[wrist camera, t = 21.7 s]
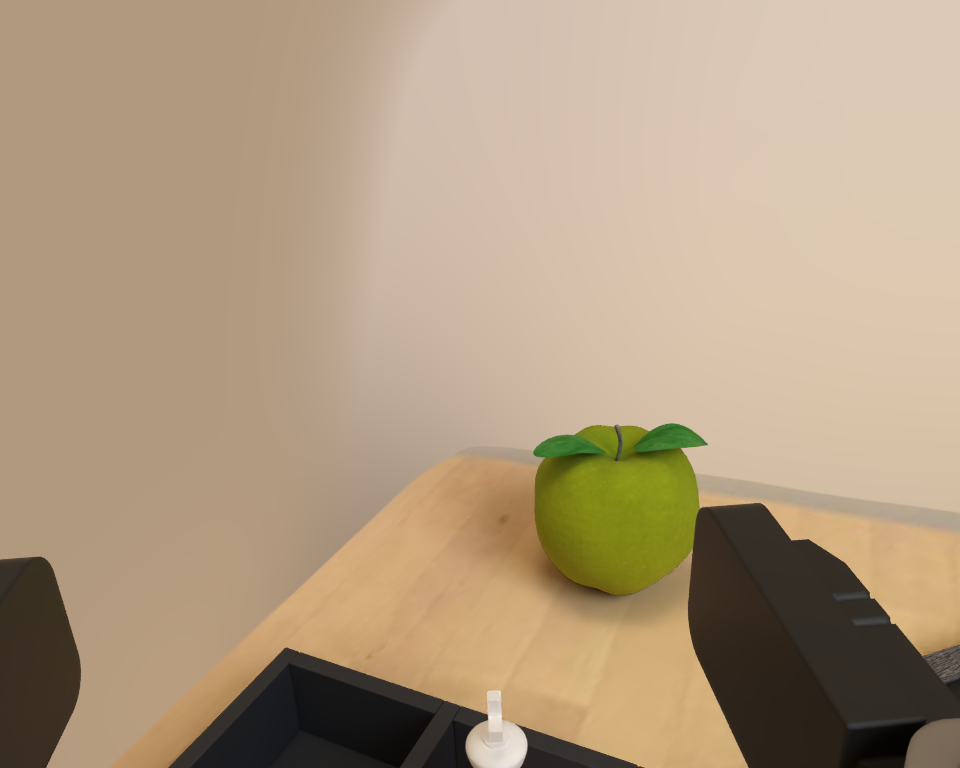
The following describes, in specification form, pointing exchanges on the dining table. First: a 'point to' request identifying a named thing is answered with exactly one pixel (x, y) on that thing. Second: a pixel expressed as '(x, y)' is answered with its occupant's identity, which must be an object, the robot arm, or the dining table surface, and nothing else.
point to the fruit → (617, 504)
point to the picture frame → (947, 667)
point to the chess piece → (496, 739)
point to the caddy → (354, 726)
